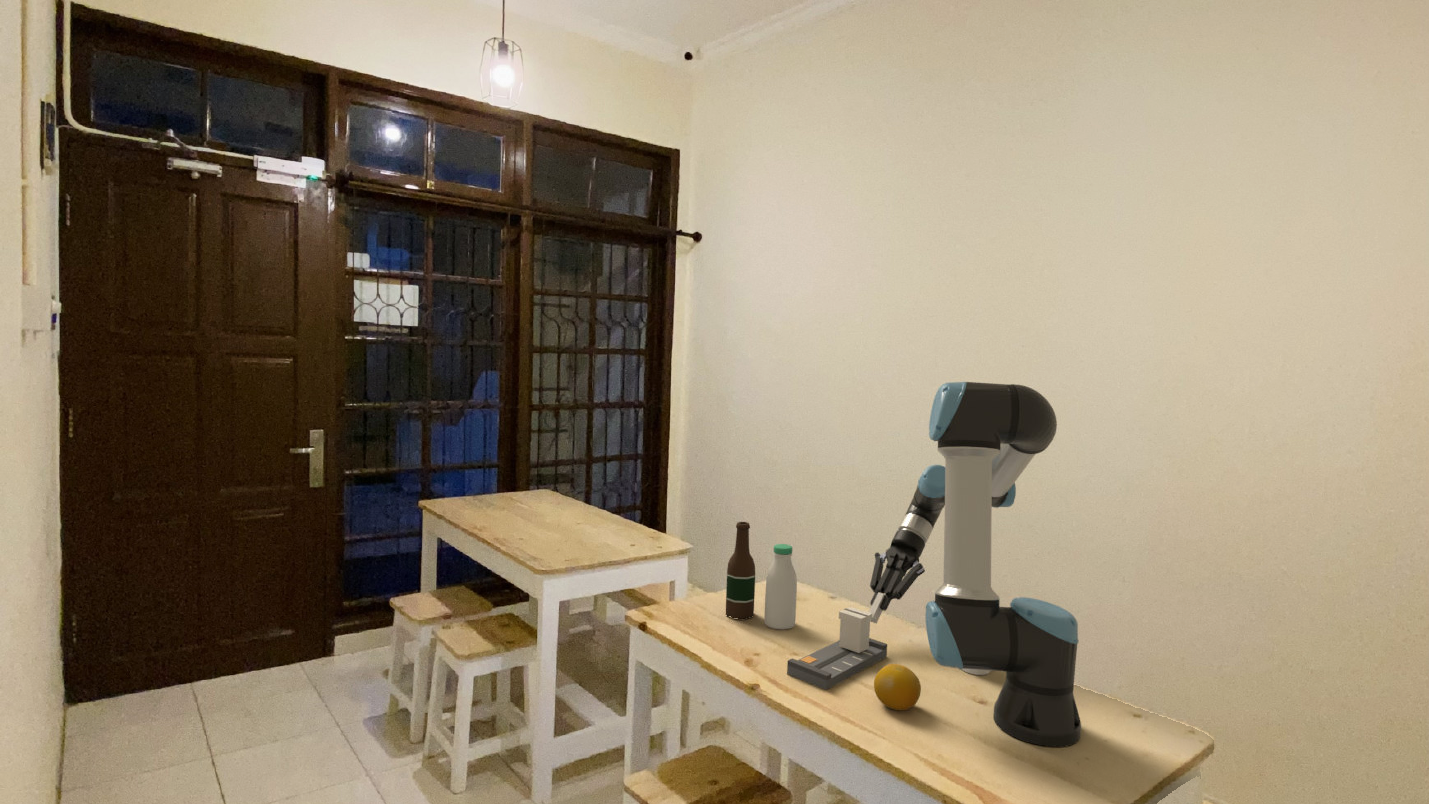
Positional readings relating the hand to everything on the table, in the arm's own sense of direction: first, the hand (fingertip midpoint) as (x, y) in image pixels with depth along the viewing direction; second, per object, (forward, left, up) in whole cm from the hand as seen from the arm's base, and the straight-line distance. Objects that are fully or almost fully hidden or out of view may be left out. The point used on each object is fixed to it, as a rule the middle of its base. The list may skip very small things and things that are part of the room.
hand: (871, 619), depth 177 cm
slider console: (-9, +10, -7) cm, 15 cm away
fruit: (-28, +4, -7) cm, 29 cm away
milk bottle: (+15, +18, -7) cm, 25 cm away
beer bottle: (+22, +27, -7) cm, 36 cm away
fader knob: (-5, +6, -4) cm, 9 cm away
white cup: (-12, -20, -7) cm, 24 cm away
